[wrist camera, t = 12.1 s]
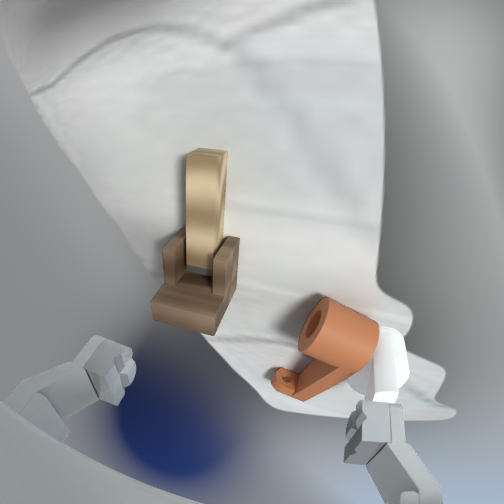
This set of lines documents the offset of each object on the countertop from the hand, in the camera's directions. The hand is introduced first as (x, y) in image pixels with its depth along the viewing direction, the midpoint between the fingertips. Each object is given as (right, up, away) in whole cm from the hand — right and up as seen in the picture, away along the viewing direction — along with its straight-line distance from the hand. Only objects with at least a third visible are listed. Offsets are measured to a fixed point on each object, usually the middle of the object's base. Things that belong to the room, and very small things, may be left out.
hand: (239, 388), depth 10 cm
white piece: (+20, -10, +35) cm, 41 cm away
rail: (-5, +11, +29) cm, 32 cm away
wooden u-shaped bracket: (-5, +4, +33) cm, 34 cm away
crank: (+10, -9, +37) cm, 39 cm away
